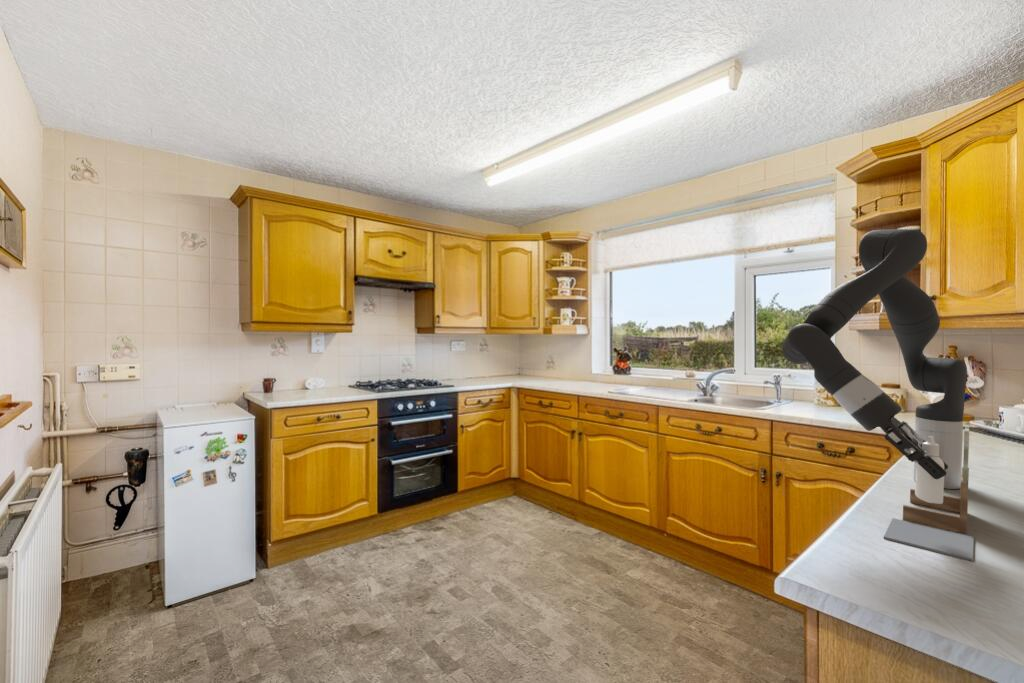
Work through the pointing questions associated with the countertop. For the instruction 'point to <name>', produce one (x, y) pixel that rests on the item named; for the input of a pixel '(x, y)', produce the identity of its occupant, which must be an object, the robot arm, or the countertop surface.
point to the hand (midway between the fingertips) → (942, 473)
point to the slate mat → (931, 538)
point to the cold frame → (944, 503)
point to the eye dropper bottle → (929, 476)
